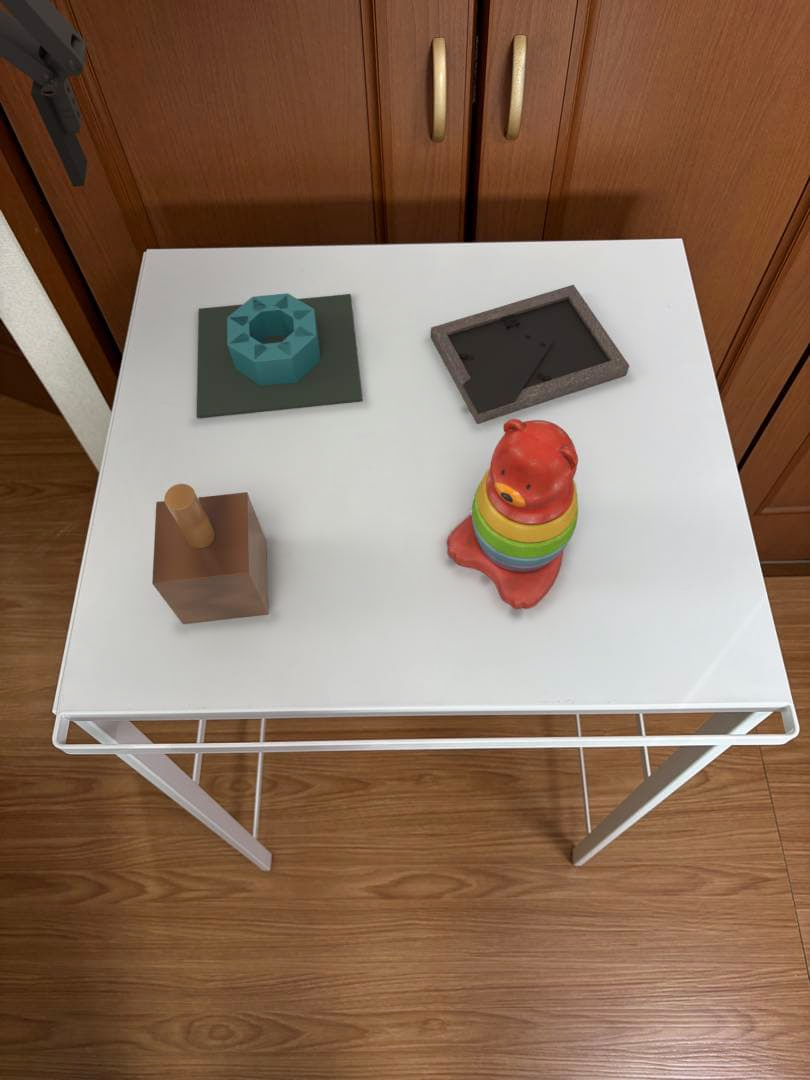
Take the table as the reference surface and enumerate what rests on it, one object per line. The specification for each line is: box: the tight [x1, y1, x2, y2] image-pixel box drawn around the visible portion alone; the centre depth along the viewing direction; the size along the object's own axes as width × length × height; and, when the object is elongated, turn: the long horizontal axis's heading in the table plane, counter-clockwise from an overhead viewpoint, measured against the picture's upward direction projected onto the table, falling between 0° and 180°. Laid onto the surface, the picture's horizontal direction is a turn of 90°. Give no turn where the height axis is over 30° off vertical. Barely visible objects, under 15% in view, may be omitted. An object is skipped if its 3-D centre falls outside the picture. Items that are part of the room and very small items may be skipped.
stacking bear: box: [446, 418, 579, 610], centre depth 65 cm, size 11×10×18 cm
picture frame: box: [430, 284, 630, 425], centre depth 83 cm, size 13×2×18 cm
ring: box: [227, 292, 321, 386], centre depth 83 cm, size 10×10×4 cm
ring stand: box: [151, 483, 269, 625], centre depth 65 cm, size 8×8×16 cm
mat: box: [196, 293, 363, 419], centre depth 85 cm, size 18×16×1 cm
